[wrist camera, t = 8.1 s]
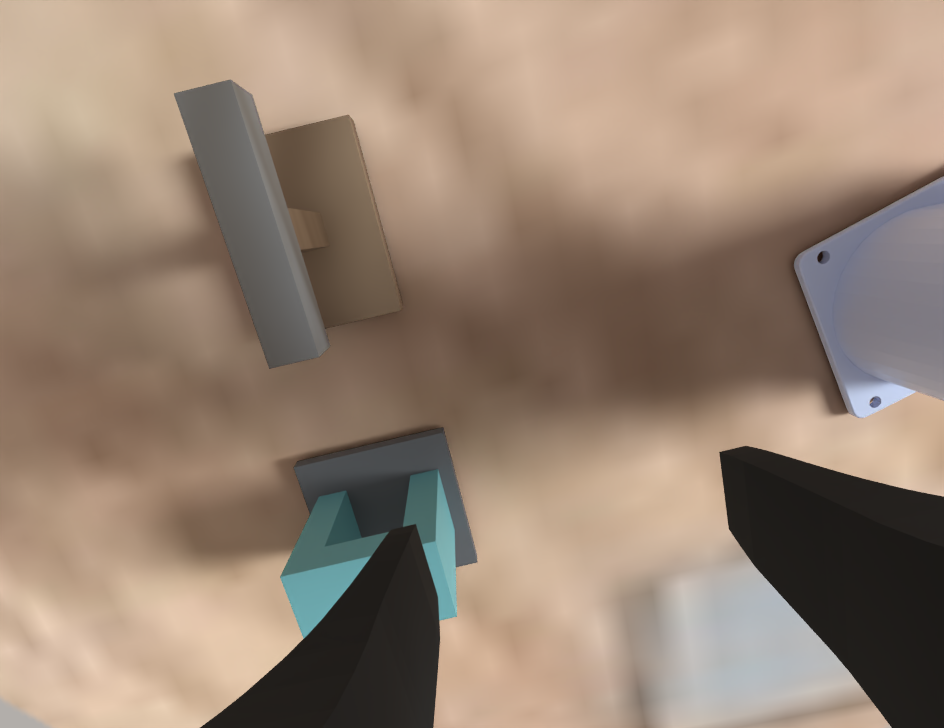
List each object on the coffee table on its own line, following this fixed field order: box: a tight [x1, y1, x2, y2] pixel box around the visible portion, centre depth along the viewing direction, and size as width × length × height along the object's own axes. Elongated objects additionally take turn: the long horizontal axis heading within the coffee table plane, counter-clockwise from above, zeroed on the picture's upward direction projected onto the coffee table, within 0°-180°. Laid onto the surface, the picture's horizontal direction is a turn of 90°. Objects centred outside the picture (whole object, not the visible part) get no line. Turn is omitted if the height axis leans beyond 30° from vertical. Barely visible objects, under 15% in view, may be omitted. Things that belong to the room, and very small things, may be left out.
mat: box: [294, 427, 477, 567], centre depth 22 cm, size 6×6×1 cm
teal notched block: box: [280, 469, 457, 638], centre depth 19 cm, size 5×3×5 cm, turn 103°
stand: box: [174, 80, 403, 369], centre depth 16 cm, size 5×7×7 cm
